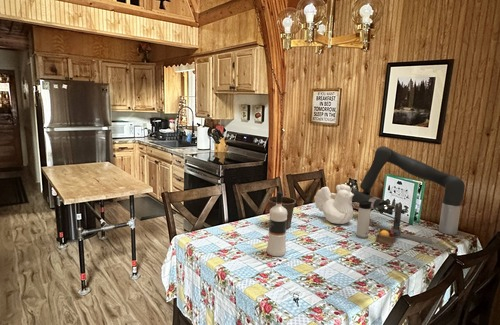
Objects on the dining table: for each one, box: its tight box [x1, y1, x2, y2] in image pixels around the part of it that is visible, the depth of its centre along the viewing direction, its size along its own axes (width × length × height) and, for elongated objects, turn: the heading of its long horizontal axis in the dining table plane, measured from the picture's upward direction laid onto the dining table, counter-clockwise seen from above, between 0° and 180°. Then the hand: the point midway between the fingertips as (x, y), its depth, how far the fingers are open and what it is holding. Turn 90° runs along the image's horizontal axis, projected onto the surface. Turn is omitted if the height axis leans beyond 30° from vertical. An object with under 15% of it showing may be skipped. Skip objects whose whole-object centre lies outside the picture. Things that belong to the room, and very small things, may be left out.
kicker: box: [390, 202, 403, 237], centre depth 174 cm, size 14×5×18 cm, turn 154°
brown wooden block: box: [375, 227, 395, 246], centre depth 173 cm, size 12×8×4 cm
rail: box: [394, 232, 433, 245], centre depth 176 cm, size 5×23×1 cm, turn 64°
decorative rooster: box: [314, 183, 354, 225], centre depth 199 cm, size 25×16×25 cm, turn 39°
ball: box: [379, 230, 389, 236], centre depth 173 cm, size 5×5×5 cm
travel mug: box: [355, 201, 372, 239], centre depth 175 cm, size 6×7×20 cm
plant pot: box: [267, 195, 297, 230], centre depth 187 cm, size 16×16×16 cm
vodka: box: [266, 191, 287, 257], centre depth 150 cm, size 9×9×30 cm
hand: (398, 212), depth 177 cm, fingers open, 8 cm apart
